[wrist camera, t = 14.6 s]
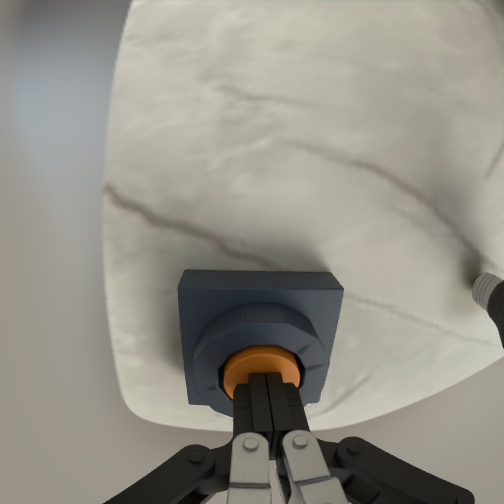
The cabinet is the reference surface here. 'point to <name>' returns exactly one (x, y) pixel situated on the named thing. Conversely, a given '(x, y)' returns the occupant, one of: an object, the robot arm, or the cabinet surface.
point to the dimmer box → (255, 326)
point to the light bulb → (491, 299)
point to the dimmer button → (259, 365)
